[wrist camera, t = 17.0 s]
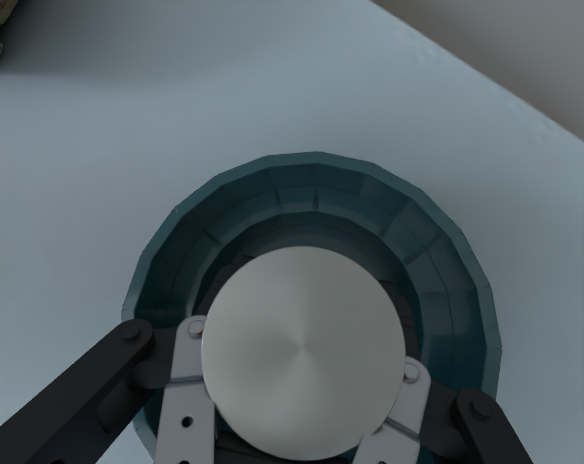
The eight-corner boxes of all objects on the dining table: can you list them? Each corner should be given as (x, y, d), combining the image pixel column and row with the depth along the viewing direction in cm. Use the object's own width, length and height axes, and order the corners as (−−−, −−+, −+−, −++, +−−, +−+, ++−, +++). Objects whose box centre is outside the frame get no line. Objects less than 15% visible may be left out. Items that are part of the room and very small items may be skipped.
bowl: (133, 301, 20) (53, 301, 14) (320, 151, 22) (324, 89, 15) (288, 527, 18) (275, 656, 11) (494, 338, 19) (587, 357, 12)
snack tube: (242, 315, 18) (160, 331, 8) (312, 257, 18) (313, 207, 9) (300, 393, 17) (286, 514, 7) (373, 329, 18) (451, 363, 8)
